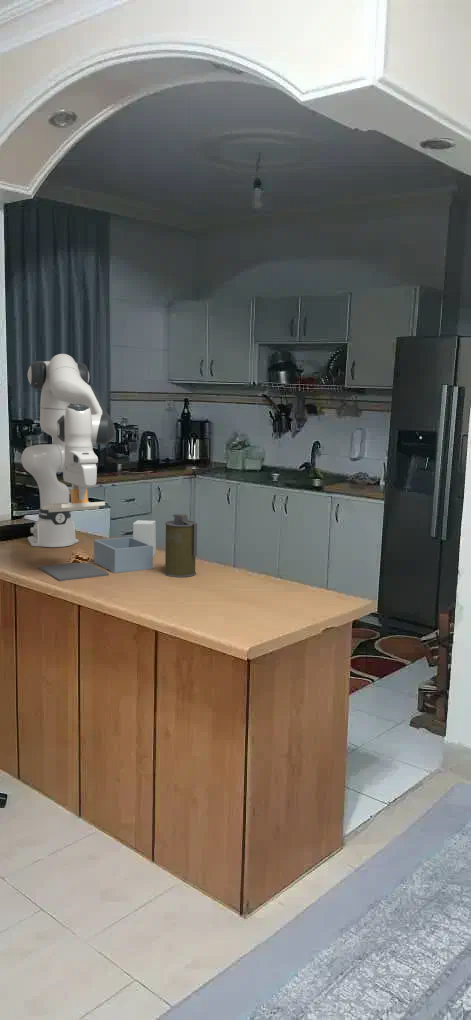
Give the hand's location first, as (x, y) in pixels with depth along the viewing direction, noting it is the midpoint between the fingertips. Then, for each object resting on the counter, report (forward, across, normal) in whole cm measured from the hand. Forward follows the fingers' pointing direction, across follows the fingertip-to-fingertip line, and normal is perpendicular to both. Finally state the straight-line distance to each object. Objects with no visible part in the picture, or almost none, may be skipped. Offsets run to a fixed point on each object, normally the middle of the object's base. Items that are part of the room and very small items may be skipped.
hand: (79, 498), depth 255 cm
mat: (+25, -6, 0) cm, 26 cm away
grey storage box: (+25, -7, +18) cm, 32 cm away
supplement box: (+26, -19, +32) cm, 46 cm away
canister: (+26, +13, +30) cm, 42 cm away
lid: (+4, -5, 0) cm, 6 cm away
